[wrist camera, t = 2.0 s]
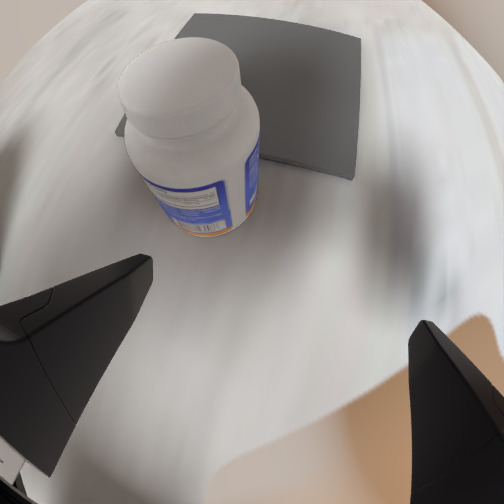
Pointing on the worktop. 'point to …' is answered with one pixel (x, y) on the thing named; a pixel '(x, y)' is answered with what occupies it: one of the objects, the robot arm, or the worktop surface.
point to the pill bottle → (193, 133)
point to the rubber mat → (294, 87)
